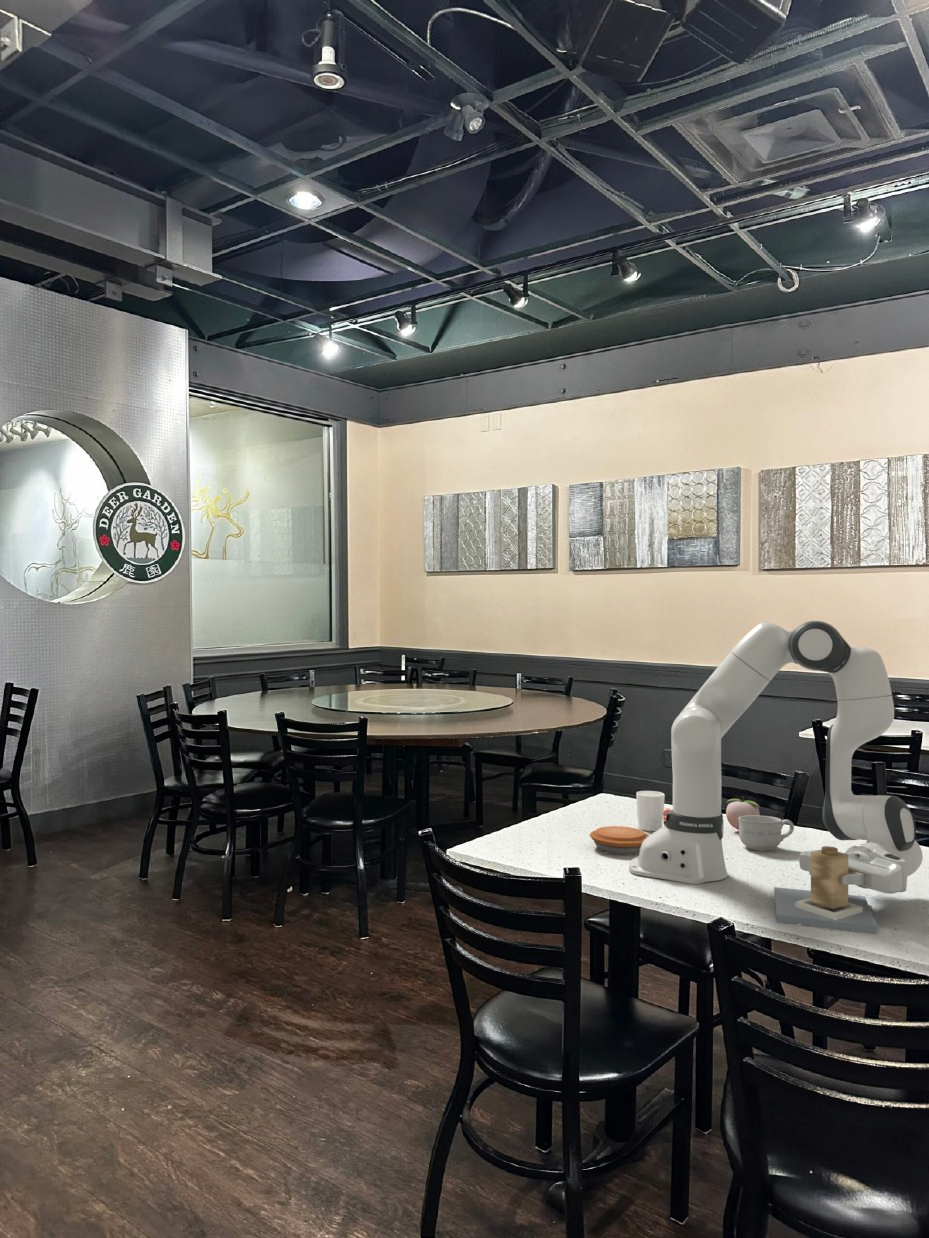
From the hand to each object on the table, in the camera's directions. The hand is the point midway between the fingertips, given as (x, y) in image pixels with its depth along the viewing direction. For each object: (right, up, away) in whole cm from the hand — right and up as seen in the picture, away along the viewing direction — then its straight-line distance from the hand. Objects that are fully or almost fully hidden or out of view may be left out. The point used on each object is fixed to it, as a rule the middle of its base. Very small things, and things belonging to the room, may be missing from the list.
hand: (826, 876), depth 170 cm
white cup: (-20, -8, +72) cm, 75 cm away
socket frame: (+1, -7, +1) cm, 7 cm away
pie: (-32, -8, +50) cm, 60 cm away
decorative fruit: (+6, -9, +69) cm, 70 cm away
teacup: (+6, -9, +52) cm, 53 cm away
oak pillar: (+1, -6, 0) cm, 6 cm away
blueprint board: (0, -8, +3) cm, 9 cm away
